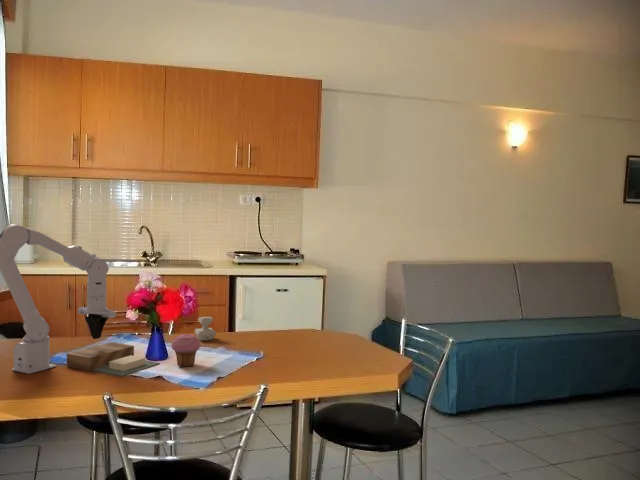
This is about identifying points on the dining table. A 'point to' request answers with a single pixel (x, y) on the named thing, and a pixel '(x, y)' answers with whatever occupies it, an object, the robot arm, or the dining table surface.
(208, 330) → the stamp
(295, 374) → the dining table surface
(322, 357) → the dining table surface
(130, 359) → the beige flat block
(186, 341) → the cupcake
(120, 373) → the mat
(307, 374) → the dining table surface
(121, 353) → the panel
